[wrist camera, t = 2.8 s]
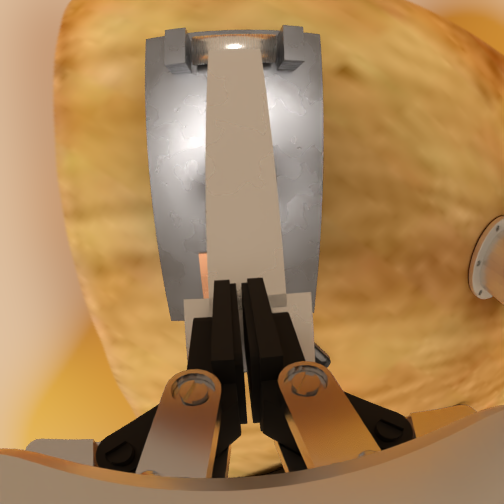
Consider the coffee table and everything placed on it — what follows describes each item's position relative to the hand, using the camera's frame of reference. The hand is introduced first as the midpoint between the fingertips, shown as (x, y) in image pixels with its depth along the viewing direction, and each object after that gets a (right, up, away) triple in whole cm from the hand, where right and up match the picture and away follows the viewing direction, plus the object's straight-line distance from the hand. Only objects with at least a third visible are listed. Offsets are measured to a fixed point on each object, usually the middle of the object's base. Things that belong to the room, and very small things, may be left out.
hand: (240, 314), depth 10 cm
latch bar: (0, +6, +4) cm, 7 cm away
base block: (-1, +9, +14) cm, 16 cm away
